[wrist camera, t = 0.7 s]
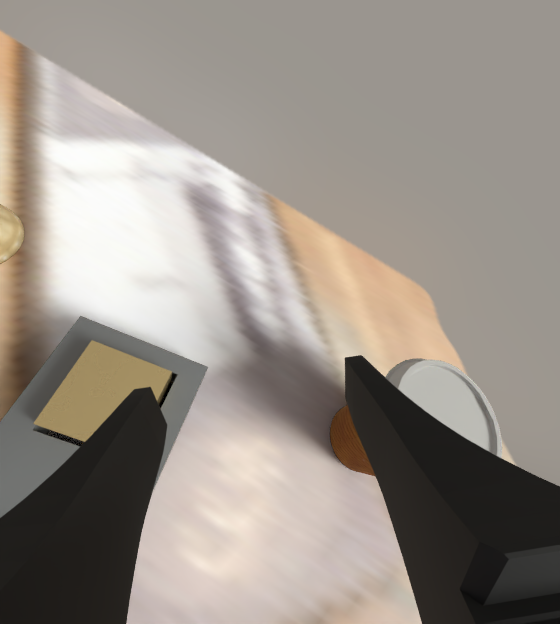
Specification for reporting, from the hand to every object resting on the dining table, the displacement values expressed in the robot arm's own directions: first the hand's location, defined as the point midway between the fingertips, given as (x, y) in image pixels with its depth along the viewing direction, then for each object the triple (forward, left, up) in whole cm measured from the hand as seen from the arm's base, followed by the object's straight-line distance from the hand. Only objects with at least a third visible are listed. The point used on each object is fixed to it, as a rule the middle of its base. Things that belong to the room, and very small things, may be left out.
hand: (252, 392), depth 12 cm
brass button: (0, +8, -16) cm, 18 cm away
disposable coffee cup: (+5, -14, -18) cm, 24 cm away
